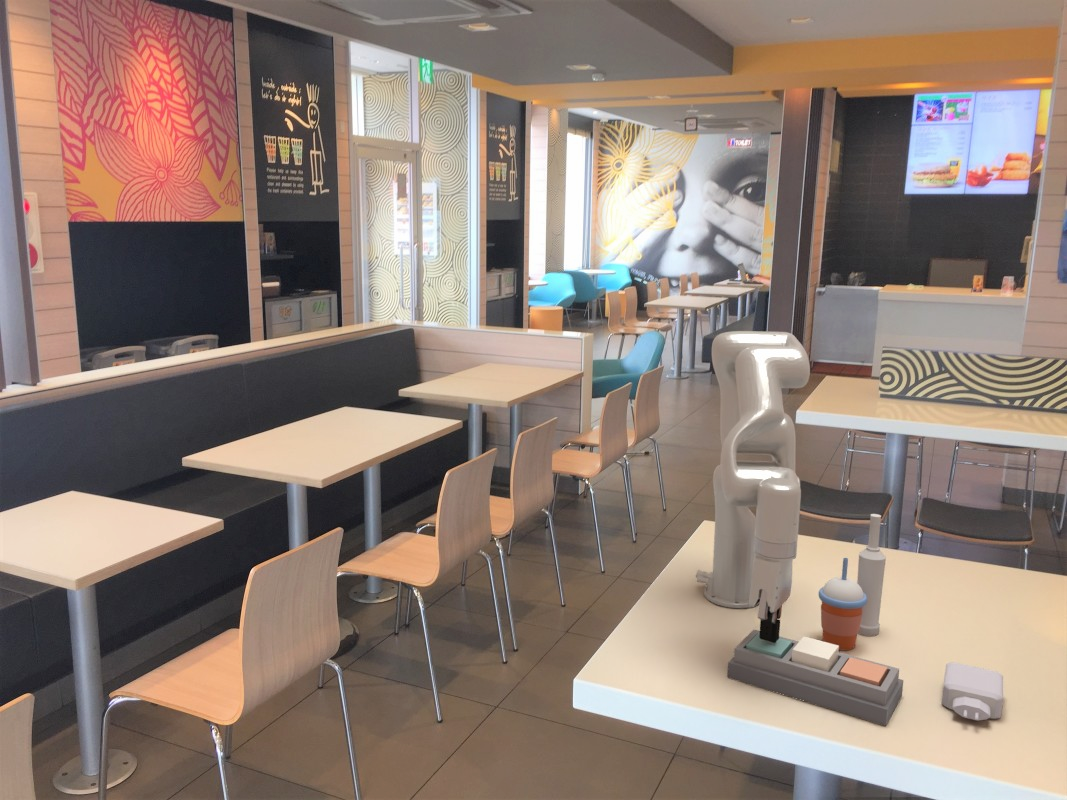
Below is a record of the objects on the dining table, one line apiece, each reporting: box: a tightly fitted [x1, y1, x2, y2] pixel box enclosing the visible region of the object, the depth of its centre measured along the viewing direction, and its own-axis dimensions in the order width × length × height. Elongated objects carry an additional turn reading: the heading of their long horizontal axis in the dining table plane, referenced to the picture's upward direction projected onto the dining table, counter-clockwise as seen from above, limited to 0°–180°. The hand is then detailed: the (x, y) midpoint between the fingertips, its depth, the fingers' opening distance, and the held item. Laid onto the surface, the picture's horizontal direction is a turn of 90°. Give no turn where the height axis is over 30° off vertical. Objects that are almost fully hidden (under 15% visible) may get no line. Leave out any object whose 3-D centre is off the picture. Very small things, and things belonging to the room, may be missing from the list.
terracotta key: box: [840, 657, 888, 687], centre depth 154 cm, size 6×6×3 cm
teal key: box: [746, 633, 792, 659], centre depth 163 cm, size 6×6×3 cm
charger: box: [941, 661, 1004, 722], centre depth 152 cm, size 5×9×15 cm
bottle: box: [856, 513, 887, 637], centre depth 179 cm, size 5×5×25 cm
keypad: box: [726, 629, 904, 727], centre depth 159 cm, size 28×12×6 cm, turn 55°
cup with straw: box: [818, 557, 867, 651], centre depth 174 cm, size 9×9×18 cm
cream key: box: [792, 636, 840, 672], centre depth 158 cm, size 6×6×3 cm
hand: (769, 639), depth 163 cm, fingers closed
